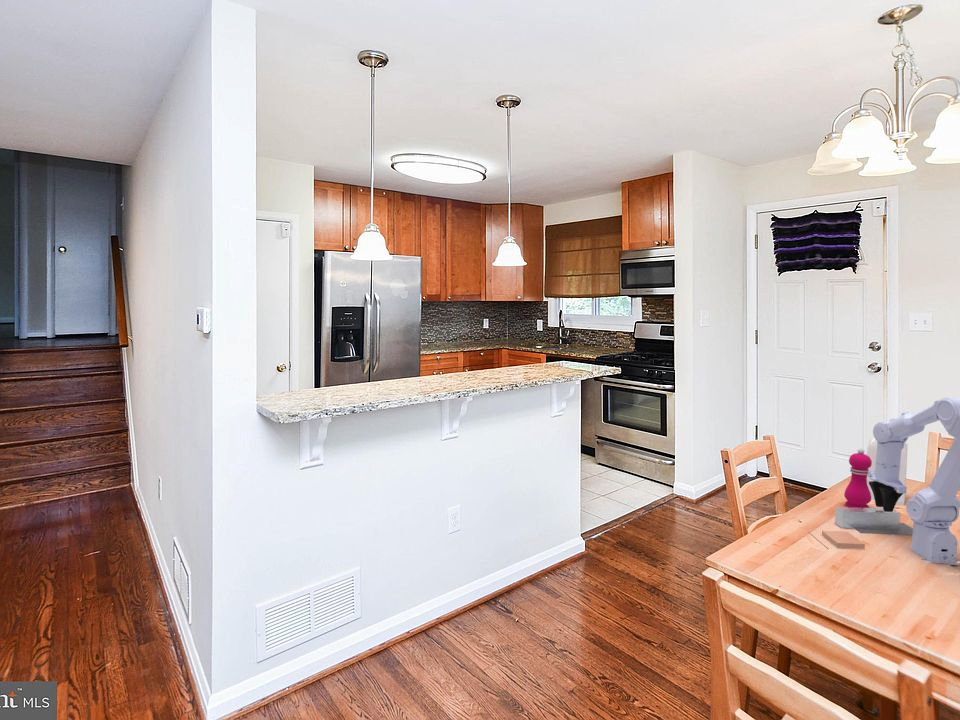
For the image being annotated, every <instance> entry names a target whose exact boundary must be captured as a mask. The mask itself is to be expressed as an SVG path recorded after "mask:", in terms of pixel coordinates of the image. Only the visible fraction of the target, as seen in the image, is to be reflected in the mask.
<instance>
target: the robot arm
mask: <svg viewBox="0 0 960 720" xmlns="http://www.w3.org/2000/svg"><path fill="white" fill-rule="evenodd" d="M900 414H901V415H900V416H898V417H896V418H890V419H889V421H887V422H888V423H887V422H880V421H879V422H877V423H876V424H875V425H874V426H873V430H872V434H873V438H875V439H876V440H877V454H876V466H875V471H868V477H869V478H870V479H871V480H873V481H869V485H870V487H871V489H872V491H873V495H874V499H875V502H874V504H875V506H876V508H883V510H884V511H885V512H893V509H894V510H895V507H896V506H897V505H896V503H897V501H898V499H899V498H900V497H901V495H902V494H904V493H905V494H907V488H908V487H907V485H906V486H904V485H903V484H902V482H901V481H900V480H899V474H900V462H901V450H902V449H903V448H904V444H905V442H906V443H907V441H908V440H909V438H910V437H912V436H915V435H917V434H920V433H921V432H923V431H924V430H925V427H926V426H927V425H929V424H932V423H936V422H938V421H940V423H941V424H942V426H943V428H944V429H945V430H946V432H947V434H948V435H949V436H951V437H952V438H954V440H953V442H952V443H951V445H950V447H949V449H948V451H947V453H946V455H945V456H944V457H943V459H942V462H941V464H940V465H939V467H938V468H937V471H936V472H935V474H934V475H933V478H932V480H931V482H930V484H929V485H928V486H927V487H925V488H923V489H921V490H919V491H916V492H915V494H914V496H913V497H911V498H909V499H908V500H907V502H906V506H905V509H906V513H907V515H908V517H909V518H910V520H911V521H913V522H912V528H913V533H912V535H911V547H910V550H911V552H913V553H915V554H916V555H918V556H920V557H923V558H921V560H922V561H924V562H925V563H927V564H929V563H930V564H947V565H948V566H960V563H959V562H958V561H957V555H958V554H957V553H958V545H959V544H958V539H957V537H956V536H955V535H954V534H953V533H952V531H951V530H950V527H953V526H952V525H953V523H954V522H956V521H957V520H958V519H959V516H960V499H959V497H958V496H957V494H958V492H959V491H960V398H959V397H957V398H956V397H953V398H952V397H942V398H941V399H939V400H935V401H934V402H933V404H932V405H930V406H928V407H926V408H924V409H922V410H920V411H918V412H917V413H914V412H908V411H904V412H902V413H900Z"/></svg>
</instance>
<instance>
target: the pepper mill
mask: <svg viewBox="0 0 960 720" xmlns="http://www.w3.org/2000/svg"><path fill="white" fill-rule="evenodd" d="M848 462H849V463H848V464H849V465H850V466H851V467H850V468H849V469H850V471H849V472H850V473H851V478H850V481H849V483H848V485H847V486H846V488H845V490H844V494H843V495H844V498H845V500H846V501H845V504H844V505H845V507H851V508H870V506H869V504H870V502H872V501H871V493H870V491H869V488H868V486H867V475H868V471H869V470H868V468H869V467H871V464H872V461H871V459H870V457H869V456H867V454H865V450H864V449H863V448H859V449H857V452H856V453H853V454H851V455H850V456H849V457H848Z"/></svg>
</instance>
